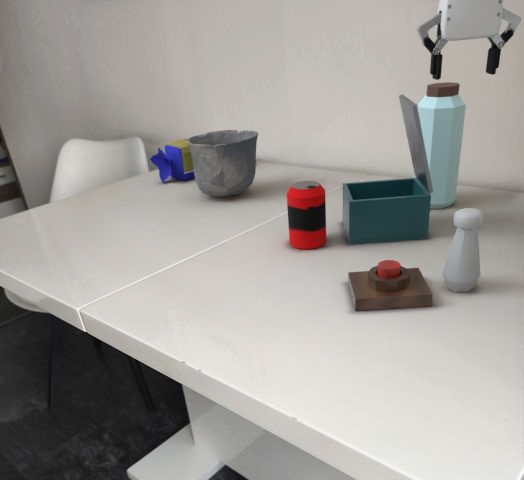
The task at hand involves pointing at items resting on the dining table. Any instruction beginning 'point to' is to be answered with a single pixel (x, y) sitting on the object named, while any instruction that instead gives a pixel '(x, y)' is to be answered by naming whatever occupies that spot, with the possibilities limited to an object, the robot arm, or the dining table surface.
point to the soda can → (306, 215)
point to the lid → (416, 142)
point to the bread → (175, 161)
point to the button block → (389, 290)
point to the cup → (224, 161)
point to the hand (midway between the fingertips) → (463, 76)
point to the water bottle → (442, 139)
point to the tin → (385, 210)
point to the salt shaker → (464, 252)
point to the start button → (389, 269)
